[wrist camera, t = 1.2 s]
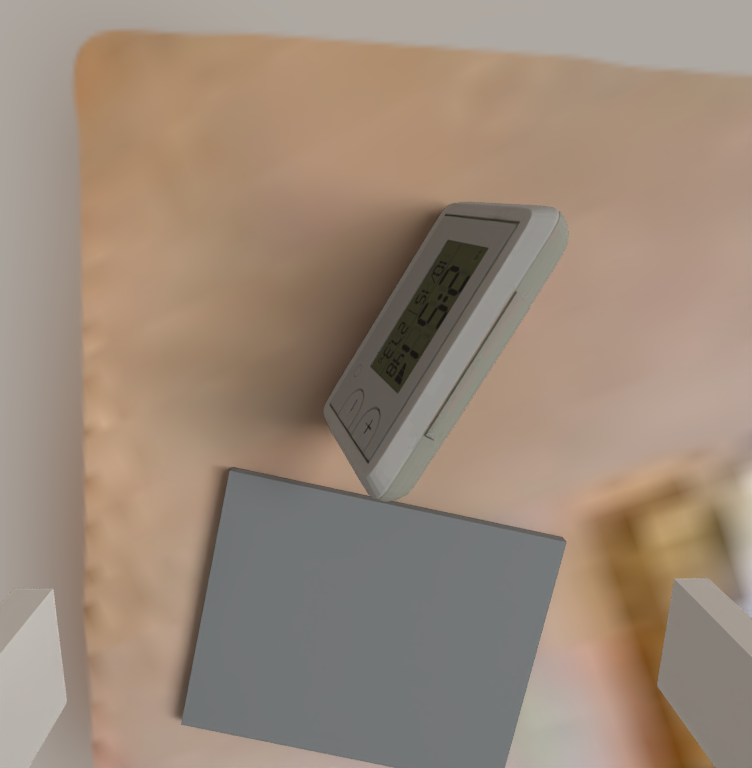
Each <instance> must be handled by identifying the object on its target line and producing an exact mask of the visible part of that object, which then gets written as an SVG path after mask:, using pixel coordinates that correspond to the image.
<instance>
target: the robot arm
mask: <svg viewBox="0 0 752 768" xmlns="http://www.w3.org/2000/svg"><path fill="white" fill-rule="evenodd" d="M657 686H658V688H659V689H660V690H661V692H662V693H663V695H664V696H665V698H666V699H667V700H668V702H669V703H670V705H671V706H672V707H673V709H674V710H675V712H676V713H677V714H678V716H679V717H680V719H681V720H682V721H683V723H684V724H685V726H686V727H687V728H688V730H689V731H690V733H691V734H692V735H693V737H694V738H695V740H696V741H697V742H698V744H699V745H700V747H701V748H702V749H703V751H704V752H705V754H706V755H707V757H708V758H709V759H710V761H711V762H712V764H713V765H714V766H715V768H752V618H751V617H750V616H749V615H747V614H746V613H745V612H744V611H743V610H742V609H741V608H740V607H739V606H738V605H737V604H736V603H734V602H733V601H732V600H731V599H730V598H729V597H728V596H727V595H726V594H725V593H724V592H723V591H721V590H720V589H719V588H718V587H717V586H716V585H715V584H714V583H713V582H712V581H711V580H709V579H708V578H686V579H674V584H673V590H672V596H671V603H670V609H669V615H668V621H667V628H666V634H665V640H664V646H663V652H662V659H661V665H660V671H659V677H658V683H657ZM66 703H67V698H66V690H65V682H64V673H63V665H62V657H61V649H60V640H59V632H58V624H57V616H56V607H55V600H54V591H53V588H39V589H38V588H36V589H14V590H13V591H12V592H11V593H10V594H9V595H8V596H7V597H6V598H5V599H4V601H3V602H2V603H1V604H0V768H29V767H30V765H31V763H32V761H33V760H34V758H35V756H36V755H37V753H38V751H39V749H40V748H41V746H42V744H43V742H44V741H45V739H46V737H47V736H48V734H49V732H50V731H51V729H52V727H53V725H54V724H55V722H56V720H57V718H58V717H59V715H60V713H61V712H62V710H63V708H64V706H65V705H66Z"/></svg>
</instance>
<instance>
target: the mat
mask: <svg viewBox="0 0 752 768" xmlns="http://www.w3.org/2000/svg"><path fill="white" fill-rule="evenodd" d="M565 546H566V541H565V540H564V538H563V537H559V536H554V535H550V534H545V533H540V532H535V531H531V530H526V529H521V528H517V527H512V526H507V525H502V524H498V523H493V522H488V521H484V520H479V519H474V518H470V517H465V516H460V515H455V514H451V513H446V512H441V511H437V510H432V509H427V508H422V507H418V506H413V505H408V504H404V503H399V502H394V501H390V502H382V501H378V500H376V499H373V498H372V497H371V496H366V495H361V494H357V493H352V492H347V491H342V490H338V489H333V488H328V487H324V486H319V485H314V484H310V483H305V482H300V481H295V480H291V479H286V478H281V477H277V476H272V475H267V474H262V473H258V472H253V471H248V470H244V469H239V468H234V467H232V468H231V470H230V471H229V476H228V481H227V486H226V492H225V497H224V502H223V507H222V513H221V518H220V523H219V528H218V534H217V539H216V544H215V549H214V555H213V560H212V565H211V570H210V576H209V581H208V586H207V591H206V597H205V602H204V607H203V612H202V618H201V623H200V628H199V633H198V639H197V644H196V649H195V654H194V660H193V665H192V670H191V675H190V681H189V686H188V691H187V696H186V702H185V707H184V712H183V717H182V723H181V725H186V726H191V727H196V728H201V729H206V730H211V731H216V732H221V733H226V734H231V735H236V736H241V737H246V738H251V739H256V740H261V741H265V742H270V743H275V744H280V745H285V746H290V747H295V748H300V749H305V750H310V751H315V752H320V753H325V754H330V755H335V756H340V757H345V758H350V759H355V760H360V761H365V762H370V763H375V764H379V765H384V766H389V767H394V768H505V765H506V761H507V757H508V754H509V750H510V747H511V743H512V739H513V736H514V732H515V728H516V725H517V721H518V717H519V714H520V710H521V706H522V703H523V699H524V695H525V692H526V688H527V684H528V681H529V677H530V673H531V670H532V666H533V662H534V659H535V655H536V652H537V648H538V644H539V641H540V637H541V633H542V630H543V626H544V622H545V619H546V615H547V611H548V608H549V604H550V600H551V597H552V593H553V589H554V586H555V582H556V578H557V575H558V571H559V568H560V564H561V560H562V557H563V553H564V549H565Z"/></svg>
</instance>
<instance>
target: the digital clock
mask: <svg viewBox="0 0 752 768" xmlns="http://www.w3.org/2000/svg"><path fill="white" fill-rule="evenodd" d="M567 243H568V225H567V222H566V220H565V218H564V216H563V215H562V214H561V212H559V211H558V210H557V209H556V208H553V207H548V206H538V205H519V204H501V203H482V202H460V203H453V204H450V205H448V206H447V207H446V208H445V209H444V210H443V212H442V213H441V214H440V216H439V217H438V219H437V221H436V222H435V224H434V225H433V227H432V229H431V230H430V232H429V233H428V235H427V237H426V238H425V240H424V241H423V243H422V245H421V246H420V248H419V250H418V251H417V253H416V255H415V256H414V258H413V259H412V261H411V263H410V264H409V266H408V268H407V269H406V271H405V273H404V274H403V276H402V278H401V279H400V281H399V282H398V284H397V286H396V287H395V289H394V291H393V292H392V294H391V296H390V297H389V299H388V301H387V302H386V304H385V305H384V307H383V309H382V310H381V312H380V314H379V315H378V317H377V319H376V320H375V322H374V324H373V325H372V327H371V328H370V330H369V332H368V333H367V335H366V337H365V338H364V340H363V342H362V343H361V345H360V347H359V348H358V350H357V352H356V353H355V355H354V356H353V358H352V360H351V361H350V363H349V365H348V366H347V368H346V370H345V371H344V373H343V375H342V376H341V378H340V379H339V381H338V383H337V385H336V386H335V388H334V390H333V391H332V393H331V395H330V396H329V398H328V400H327V402H326V404H325V406H324V411H323V413H324V417H325V419H326V422H327V424H328V426H329V428H330V430H331V432H332V434H333V435H334V437H335V439H336V441H337V442H338V444H339V446H340V447H341V449H342V451H343V452H344V454H345V456H346V458H347V459H348V461H349V463H350V464H351V466H352V468H353V469H354V471H355V473H356V475H357V476H358V478H359V480H360V481H361V483H362V485H363V486H364V488H365V489H366V491H367V492H368V494H369V495H370V496H371V497H372V498H373V499H376V500H378V501H382V502H390V501H394V500H397V499H400V498H401V497H403V496H405V495H406V494H408V493H409V492H410V490H411V489H412V488H413V487H414V485H415V484H416V482H417V481H418V479H419V478H420V476H421V475H422V473H423V472H424V470H425V469H426V467H427V466H428V464H429V463H430V461H431V460H432V458H433V457H434V455H435V454H436V452H437V451H438V449H439V448H440V446H441V444H442V443H443V441H444V440H445V438H447V436H448V435H449V433H450V431H451V430H452V429H453V427H454V425H455V424H456V422H457V421H458V419H459V418H460V416H461V415H462V413H463V411H464V410H465V408H466V407H467V405H468V404H469V402H470V401H471V399H472V397H473V396H474V394H475V393H476V391H477V390H478V388H479V387H480V385H481V383H482V382H483V380H484V379H485V377H486V376H487V374H488V372H489V371H490V369H491V368H492V366H493V365H494V363H495V362H496V360H497V358H498V357H499V355H500V354H501V352H502V351H503V349H504V348H505V346H506V344H507V343H508V341H509V340H510V338H511V337H512V335H513V334H514V332H515V330H516V329H517V327H518V326H519V324H520V323H521V321H522V320H523V318H524V316H525V315H526V313H527V312H528V310H529V309H530V306H531V304H532V303H533V301H534V300H535V298H536V296H537V295H538V293H539V292H540V290H541V289H542V287H543V285H544V284H545V282H546V281H547V279H548V278H549V276H550V274H551V273H552V271H553V269H554V268H555V266H556V264H557V263H558V261H559V260H560V258H561V256H562V255H563V253H564V251H565V249H566V246H567Z"/></svg>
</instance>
